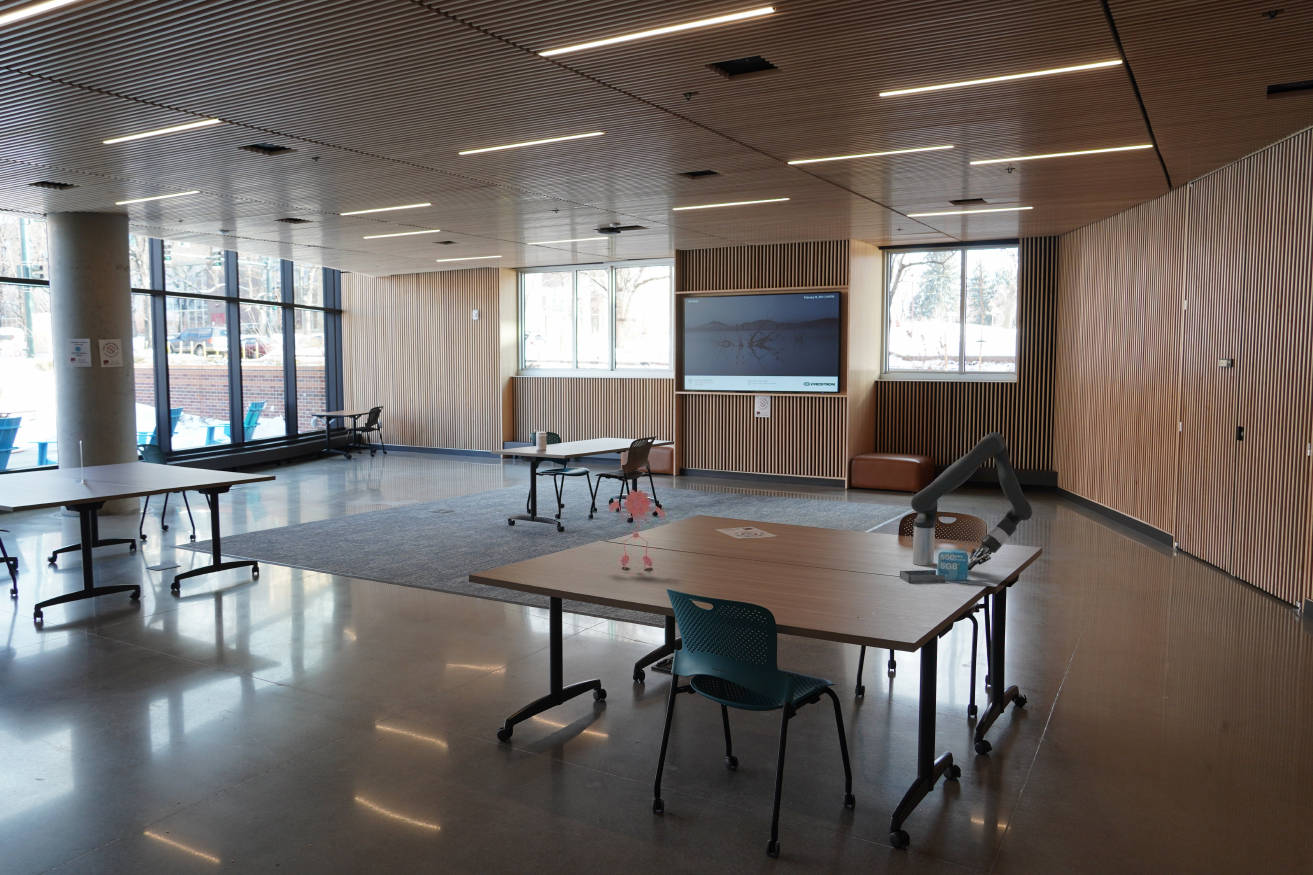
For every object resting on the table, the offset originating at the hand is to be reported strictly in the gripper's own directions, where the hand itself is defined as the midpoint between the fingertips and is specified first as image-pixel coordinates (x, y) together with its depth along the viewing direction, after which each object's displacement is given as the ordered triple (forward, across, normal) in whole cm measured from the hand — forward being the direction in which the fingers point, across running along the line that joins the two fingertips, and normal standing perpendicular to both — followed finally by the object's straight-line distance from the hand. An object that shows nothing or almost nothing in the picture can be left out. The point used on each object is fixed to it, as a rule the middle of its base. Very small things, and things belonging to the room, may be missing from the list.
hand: (967, 568), depth 384 cm
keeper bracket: (+17, 0, -12) cm, 21 cm away
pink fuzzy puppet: (+99, -42, -94) cm, 143 cm away
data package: (+8, 0, -2) cm, 8 cm away
